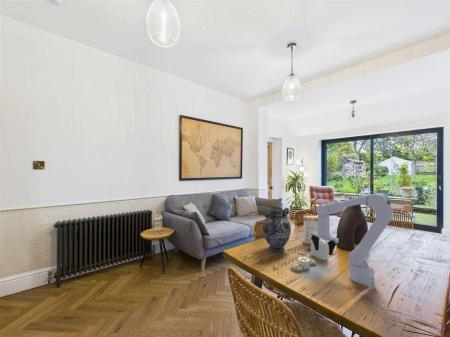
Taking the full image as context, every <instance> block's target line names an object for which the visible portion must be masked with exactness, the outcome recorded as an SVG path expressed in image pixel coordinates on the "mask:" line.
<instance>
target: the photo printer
mask: <svg viewBox="0 0 450 337" xmlns="http://www.w3.org/2000/svg"><path fill="white" fill-rule="evenodd" d="M310 255H312V256H313V257H315V258H318V259H320V260H322V261H327V260H328V258H329V256H328V255H329V246H328V241H327V242H325V241H324V240H322V239H319V250H317V251H316V250H315V247H314V244H313V241H312V240H311V244H310Z"/></svg>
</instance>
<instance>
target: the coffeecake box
mask: <svg viewBox="0 0 450 337" xmlns="http://www.w3.org/2000/svg"><path fill="white" fill-rule="evenodd" d="M310 232H316V233H318V215H303V242H304V243H305V244H307V245H311V237H312V236H310ZM320 239H322V238H320ZM322 240H324V241H325V242H327V243H328V240H325V239H322Z"/></svg>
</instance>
